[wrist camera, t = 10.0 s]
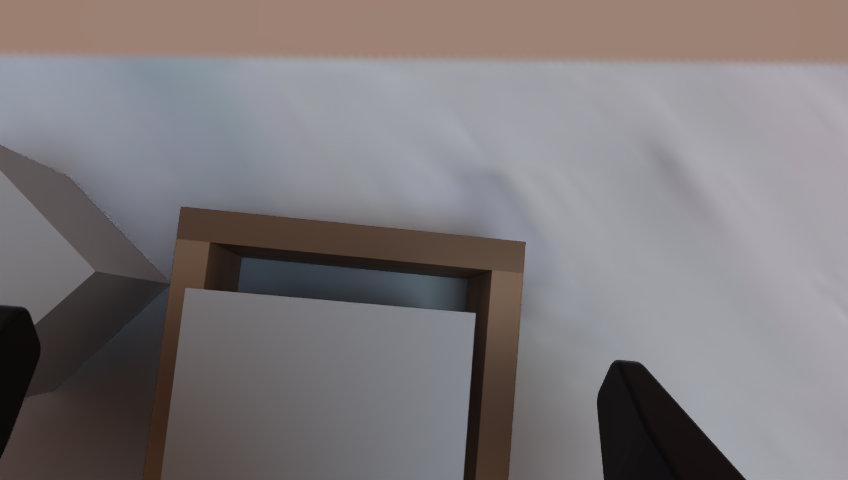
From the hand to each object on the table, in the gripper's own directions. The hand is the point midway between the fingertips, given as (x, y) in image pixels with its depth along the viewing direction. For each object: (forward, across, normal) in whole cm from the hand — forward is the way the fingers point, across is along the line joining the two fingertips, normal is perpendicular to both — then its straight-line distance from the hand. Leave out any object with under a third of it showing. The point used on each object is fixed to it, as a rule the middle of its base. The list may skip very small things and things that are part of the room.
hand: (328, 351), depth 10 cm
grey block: (+8, +9, +6) cm, 13 cm away
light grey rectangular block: (+6, 0, +8) cm, 10 cm away
